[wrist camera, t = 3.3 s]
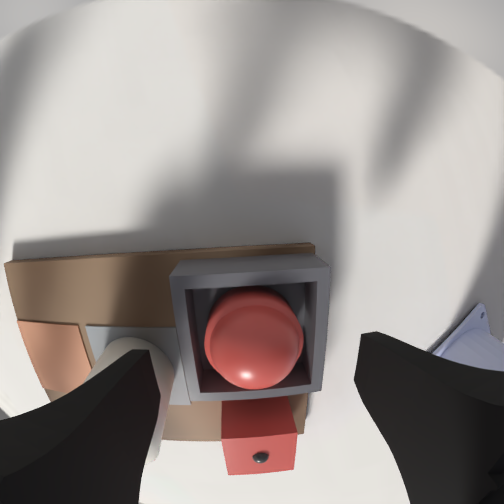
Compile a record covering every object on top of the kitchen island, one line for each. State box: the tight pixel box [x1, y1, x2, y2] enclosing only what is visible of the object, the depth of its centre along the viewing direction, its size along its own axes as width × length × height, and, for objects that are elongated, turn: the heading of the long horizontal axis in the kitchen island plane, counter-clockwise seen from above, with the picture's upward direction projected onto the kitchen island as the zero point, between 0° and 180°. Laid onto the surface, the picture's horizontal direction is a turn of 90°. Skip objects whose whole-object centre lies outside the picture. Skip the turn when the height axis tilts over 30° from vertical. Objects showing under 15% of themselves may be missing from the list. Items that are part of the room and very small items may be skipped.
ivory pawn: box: [84, 337, 174, 464], centre depth 11 cm, size 4×4×5 cm
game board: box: [4, 243, 315, 441], centre depth 13 cm, size 17×12×1 cm
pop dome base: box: [169, 253, 331, 401], centre depth 12 cm, size 6×6×2 cm
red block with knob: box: [221, 396, 298, 475], centre depth 12 cm, size 3×3×4 cm
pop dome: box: [204, 285, 303, 389], centre depth 10 cm, size 4×4×3 cm
